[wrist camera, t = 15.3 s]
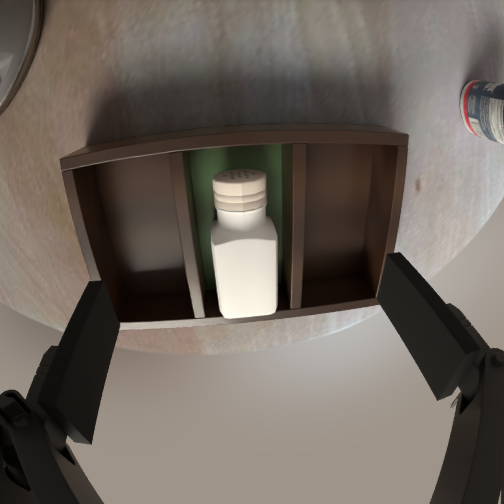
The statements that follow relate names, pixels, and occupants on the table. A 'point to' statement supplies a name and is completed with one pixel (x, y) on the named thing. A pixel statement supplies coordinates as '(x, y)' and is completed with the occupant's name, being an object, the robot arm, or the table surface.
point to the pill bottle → (484, 109)
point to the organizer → (204, 212)
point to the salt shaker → (244, 245)
